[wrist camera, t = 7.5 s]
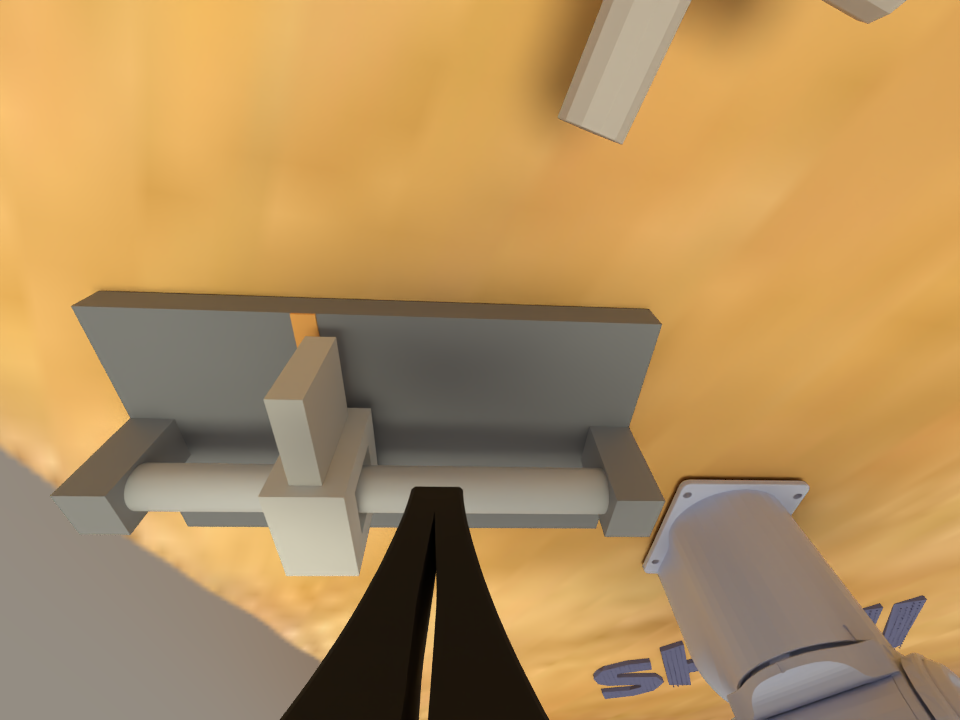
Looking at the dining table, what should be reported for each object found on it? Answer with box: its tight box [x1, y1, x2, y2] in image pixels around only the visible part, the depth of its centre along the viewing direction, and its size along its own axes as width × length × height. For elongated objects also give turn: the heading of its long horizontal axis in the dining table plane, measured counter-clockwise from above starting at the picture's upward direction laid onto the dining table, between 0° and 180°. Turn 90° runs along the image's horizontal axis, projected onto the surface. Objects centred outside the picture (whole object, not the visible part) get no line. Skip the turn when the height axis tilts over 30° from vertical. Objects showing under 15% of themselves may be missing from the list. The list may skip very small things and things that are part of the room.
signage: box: [594, 595, 927, 699], centre depth 39 cm, size 28×1×10 cm
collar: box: [258, 336, 378, 576], centre depth 17 cm, size 9×3×5 cm, turn 177°
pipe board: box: [50, 291, 665, 537], centre depth 19 cm, size 14×24×6 cm, turn 87°
